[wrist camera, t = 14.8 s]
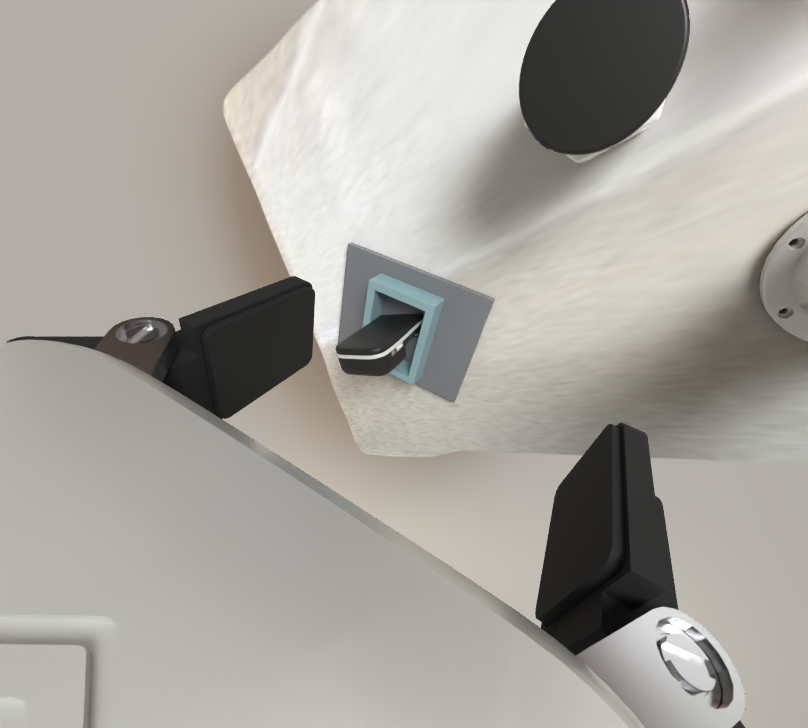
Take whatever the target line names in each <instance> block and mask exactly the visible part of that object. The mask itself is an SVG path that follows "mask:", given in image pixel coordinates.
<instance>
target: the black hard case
mask: <svg viewBox="0 0 808 728" xmlns="http://www.w3.org/2000/svg"><path fill="white" fill-rule="evenodd" d="M423 319H424V318H423V315H422V314H392V315H381V316H379V317H378V318H376V319H375V320H373V321H372V322H371V323H369V324H367V325H366V326H364V327H363V328H361V329H360V330H358V331H356V332H355V333H353V334H352V335H350V336H349V337H348V338H346V339H345V340H343V341H342V342H340V343H339V344H338V345H337V346H336V355H337V357H338V358H339V361H340V365H341V368H342V370H343V371H344V372H345V373H348V374H353V375H366V376H382V375H386V374H388V373H389V372H391V371H392V370H393V369H394V368H396V367H397V366H398V365H399V364H400V363H401V362H402V361H403V360H404V359H405V358H406V349H405V347H406V345H407V342H408V341H409V340H410V339H411V338H412V337H419V334H420V330H421V326H422V323H423Z"/></svg>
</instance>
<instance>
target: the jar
mask: <svg viewBox="0 0 808 728" xmlns="http://www.w3.org/2000/svg"><path fill="white" fill-rule="evenodd" d="M689 34H690V14H689V9H688V4H687V1H686V0H556V1H555V2H554V3H553V4H552V5H551V7H550V8H549V9H548V11H547V12H546V13H545V15H544V16H543V18H542V19H541V21H540V22H539V24H538V26H537V28H536V29H535V31H534V33H533V35H532V37H531V40H530V42H529V44H528V47H527V49H526V52H525V56H524V59H523V63H522V67H521V73H520V81H519V99H520V107H521V111H522V115H523V118H524V125H525V127H527V128H528V129H529V130H530V132H531V133H532V135H533V136H534V137H535V139H536V140H537V141H539V143H540V144H541V145H543V146H544V147H545V148H547V149H551V150H553V151H556V152H559V153H562V154H565V155H566V156H567V157H569V158H570V159H572V160H573V161H575V162H576V163H581V162H587V161H589V160H591V159H593V158H595V157H596V156H598V155H600V154H602V153H604V152H606V151H608V150H609V149H611V148H613V147H615V146H617V145H619V144H621V143H622V142H624V141H626V140H628V139H630V138H632V137H634V136H636V135H637V134H639V133H641V132H643V131H645V130H646V129H647V128H649V127H650V126H651V125H652V124H654V123H655V122H656V121H657V120H658V119H659V118H660V115H661V112H662V109H663V105H664V102H665V99H666V97H667V96H668V94H669V92H670V91H671V89H672V87H673V85H674V83H675V82H676V80H677V77H678V75H679V73H680V70H681V68H682V65H683V62H684V59H685V56H686V52H687V47H688V42H689Z"/></svg>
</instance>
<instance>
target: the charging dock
mask: <svg viewBox="0 0 808 728" xmlns="http://www.w3.org/2000/svg"><path fill="white" fill-rule="evenodd" d="M494 300H495V299H494V298H492V297H489V296H486V295H484V294H481V293H479V292H476V291H474V290H471V289H469V288H466V287H463V286H461V285H458V284H456V283H453V282H451V281H448V280H446V279H443V278H440V277H438V276H435V275H433V274H430V273H428V272H425V271H423V270H420V269H417V268H415V267H412V266H410V265H407V264H405V263H402V262H400V261H397V260H394V259H392V258H389V257H387V256H384V255H382V254H379V253H377V252H374V251H371V250H369V249H366V248H364V247H361V246H359V245H356V244H354V243H349V244H348V249H347V259H346V269H345V279H344V289H343V299H342V310H341V320H340V330H339V340H338V344H339V343H340V342H342V341H343V340H345V339H346V338H348V337H349V336H350V335H352V334H353V333H355V332H356V331H358V330H360V329H361V328H363V327H364V326H366V325H367V324H369V323H371V322H372V321H373V320H375V319H376V318H378V317H379V316H381V315H392V314H422V315H423V318H424V319H423V323H422V326H421V330H420V334H419V337H412V338H411V339H410V340H409V341H408V342H407V345H406V347H405V349H406V358H405V359H404V360H403V361H402V362H401V363H400V364H399V365H398V366H397V367H396V368H394V369H393V370H392V371H391V372H389V374H391V375H393V376H395V377H397V378H399V379H401V380H403V381H405V382H407V383H409V384H411V385H414V384H417V385H419V386H421V387H423V388H425V389H427V390H429V391H432V392H434V393H436V394H438V395H440V396H442V397H444V398H446V399H448V400H450V401H452V402H454V401H455V400H456V397H457V395H458V392H459V390H460V387H461V384H462V382H463V379H464V377H465V374H466V372H467V369H468V367H469V364H470V361H471V359H472V356H473V354H474V351H475V349H476V346H477V343H478V341H479V338H480V336H481V333H482V331H483V328H484V326H485V323H486V320H487V318H488V315H489V313H490V310H491V308H492V305H493V303H494Z"/></svg>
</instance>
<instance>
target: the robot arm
mask: <svg viewBox="0 0 808 728" xmlns="http://www.w3.org/2000/svg"><path fill="white" fill-rule="evenodd" d="M793 239H796V240H797V241H796V243H794V244H792V245H789V242H790V241H791V240H793ZM759 289H760V296H761V301H762V303H763V305H764V307H765V309H766V311H767V313H768V314H769V315H770V316H771V317H772V319H773V320H774V321H775V322H776V323H777V324H778V325H780V326H781V327H782V328H783V329H784V330H785V331H787V332H789V333H790V334H792V335H794V336H796V337H798V338H800V339H802V340H805V341H808V213H807V214H805V215H804V216H803V217H802V218H801V219H799V220H798V221H797V222H796V223H795V224H793V225H792V226H791V227H790V228H789V229H788V230H787V231H786V232H785V233H784V235H783V236H782V237H781V238H780V239H779V240H778V241H777V242H776V244H775V245H774V247H773V249H772V250H771V252H770V253H769V255H768V256H767V258H766V261H765V263H764V266H763V269H762V271H761V276H760V284H759ZM314 305H315V292H314V290H313V289H312V285H311V284H310V283H309V282H307V281H305V280H302V279H300V278H298V277H295V276H293V277H289V278H287V279H284V280H281V281H279V282H276V283H274V284H271V285H268V286H265V287H262V288H260V289H257V290H254V291H252V292H249V293H247V294H244V295H241V296H238V297H236V298H233V299H230V300H228V301H225V302H222V303H220V304H217V305H214V306H211V307H209V308H206V309H203V310H201V311H198V312H195V313H193V314H190V315H187V316H185V317H182V318H179V322H180V327H181V330H179V331H176V332H175V328H174V326H173V324H172V323H170V322H169V321H167V320H164V319H161V318H154V317H141V318H135V319H130V320H126V321H123V322H121V323H119V324H117V325H115V326H114V327H112V328H111V329H110V330H109V331H108V333H107V334H106V335H105V336H104V337H33V336H32V337H31V336H27V337H19V338H15V339H12V340H9V341H7V343H3V344H0V728H745V727H744V726H743V724H742V723H741V721H740V719H741V717H742V715H743V713H744V711H745V693H744V689H743V686H742V683H741V680H740V677H739V675H738V673H737V671H736V669H735V667H734V665H733V663H732V661H731V659H730V658H729V656H728V655H727V654H726V652H725V651H724V650H723V648H722V647H721V645H720V644H719V643H718V641H717V640H716V639H715V638H714V637H713V636H712V635H711V634H710V633H709V632H708V631H707V630H706V629H705V628H704V627H703V626H702V625H700V624H699V623H698V622H696V621H695V620H694V619H692V618H691V617H690V616H688V615H686V614H684V613H682V612H680V611H678V606H677V599H676V593H675V585H674V578H673V571H672V565H671V558H670V552H669V544H668V538H667V531H666V524H665V517H664V510H663V505H662V502H661V500H660V499H659V498H658V497H656V496H655V493H654V486H653V477H652V469H651V462H650V454H649V446H648V438H647V434H646V433H644V432H642V431H640V430H637V429H635V428H633V427H631V426H628V425H626V424H624V423H619V424H618V425H617V426H614V425H612V424H609V425H607V426H606V428H605V429H604V430H603V431H602V433H601V434H600V435H599V436H598V438H597V439H596V440H595V441H594V443H593V444H592V445H591V446H590V448H589V449H588V450H587V451H586V453H585V454H584V455H583V456H582V458H581V459H580V460H579V461H578V463H577V464H576V465H575V466H574V468H573V469H572V470H571V472H570V473H569V474H568V475H567V477H566V478H565V479H564V480H563V481H562V483H561V484H560V485H559V487H558V489H557V491H556V494H555V498H554V504H553V510H552V516H551V522H550V528H549V534H548V540H547V546H546V552H545V558H544V564H543V570H542V575H541V581H540V587H539V593H538V599H537V605H536V613H535V614H536V618H537V619H538V620H540V621H541V622H542V624H541V628H539V627H538V626H537V625H535V624H534V623H532V622H531V621H530V620H528V619H527V618H526V617H524V616H523V615H522V614H520V613H519V612H517V611H516V610H515V609H513V608H512V607H510V606H509V605H507V604H505V603H504V602H503V601H501V600H500V599H498V598H497V597H495V596H494V595H492V594H491V593H489V592H488V591H486V590H484V589H483V588H482V587H480V586H479V585H477V584H476V583H474V582H473V581H471V580H470V579H468V578H467V577H465V576H464V575H462V574H461V573H459V572H458V571H456V570H455V569H453V568H452V567H451V566H449V565H448V564H446V563H445V562H443V561H441V560H440V559H438V558H437V557H435V556H434V555H432V554H431V553H429V552H428V551H426V550H424V549H423V548H421V547H420V546H418V545H416V544H415V543H413V542H412V541H410V540H409V539H407V538H406V537H404V536H403V535H401V534H400V533H398V532H396V531H395V530H394V529H392V528H390V527H389V526H387V525H386V524H384V523H383V522H381V521H380V520H378V519H377V518H375V517H373V516H372V515H370V514H369V513H367V512H366V511H364V510H363V509H361V508H360V507H358V506H357V505H355V504H353V503H352V502H350V501H349V500H347V499H346V498H344V497H343V496H341V495H339V494H338V493H336V492H335V491H333V490H332V489H330V488H329V487H327V486H325V485H324V484H322V483H321V482H319V481H318V480H316V479H314V478H313V477H311V476H310V475H308V474H307V473H305V472H304V471H302V470H300V469H299V468H297V467H295V466H294V465H292V464H291V463H289V462H288V461H286V460H285V459H283V458H282V457H280V456H279V455H277V454H275V453H274V452H272V451H271V450H269V449H268V448H266V447H264V446H263V445H261V444H260V443H258V442H257V441H255V440H254V439H252V438H250V437H249V436H247V435H246V434H244V433H242V432H241V431H239V430H238V429H236V428H235V427H233V426H231V425H230V424H228V423H227V422H225V421H223V420H222V419H223V418H225V419H226V418H229V417H231V416H232V415H234V414H235V413H237V412H238V411H240V410H241V409H242V408H244V407H246V406H247V405H249V404H250V403H251V402H253V401H254V400H256V399H257V398H259V397H260V396H262V395H263V394H264V393H266V392H268V391H269V390H271V389H272V388H273V387H275V386H276V385H278V384H279V383H281V382H282V381H284V380H285V379H287V378H288V377H290V376H291V375H293V374H294V373H296V372H297V371H298V370H300V369H301V368H303V367H304V366H306V365H307V364H308V363H309V362H310V360H311V358H312V347H313V327H314ZM785 308H786V309H785ZM782 309H785V311H783V312H779V311H780V310H782Z"/></svg>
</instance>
